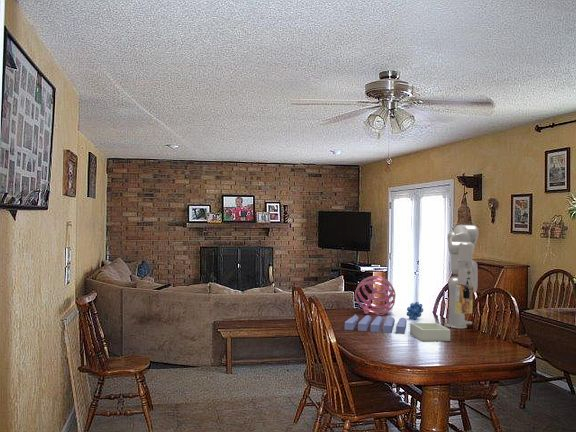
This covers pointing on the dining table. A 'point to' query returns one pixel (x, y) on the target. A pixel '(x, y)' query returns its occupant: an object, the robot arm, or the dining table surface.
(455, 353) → the dining table surface
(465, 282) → the robot arm
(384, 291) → the pink lattice ball
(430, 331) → the crate
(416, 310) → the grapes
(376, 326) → the blocks
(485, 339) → the dining table surface
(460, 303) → the candy box
